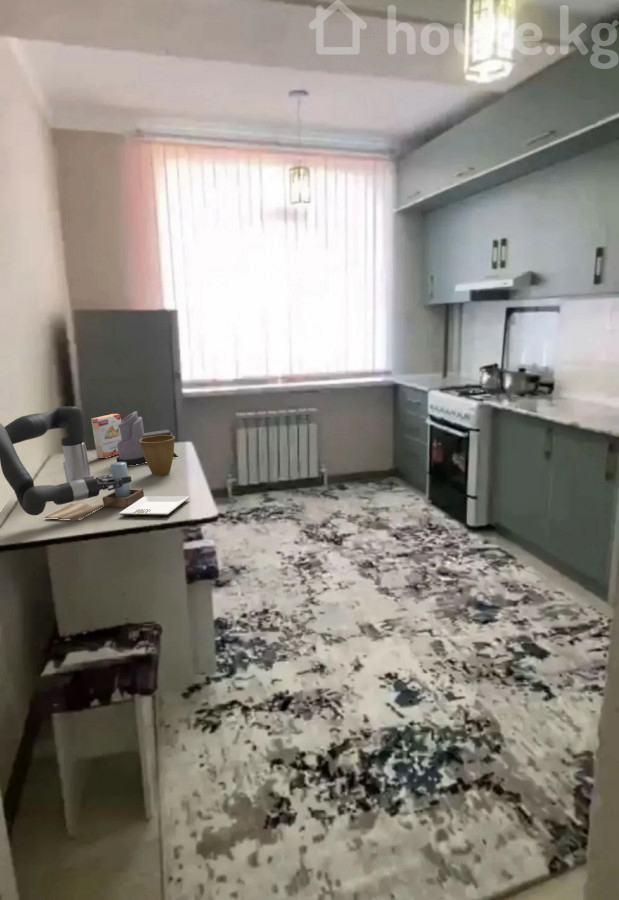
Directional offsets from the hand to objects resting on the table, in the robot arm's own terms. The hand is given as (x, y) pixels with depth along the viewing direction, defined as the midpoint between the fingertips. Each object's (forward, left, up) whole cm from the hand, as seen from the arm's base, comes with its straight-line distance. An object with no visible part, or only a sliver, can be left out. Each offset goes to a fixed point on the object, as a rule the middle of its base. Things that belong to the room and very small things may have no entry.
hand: (127, 477), depth 215 cm
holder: (-1, -2, -9) cm, 9 cm away
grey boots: (-29, +59, -9) cm, 66 cm away
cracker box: (-54, +67, -9) cm, 87 cm away
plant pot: (-7, +36, -9) cm, 38 cm away
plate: (+16, -8, -10) cm, 20 cm away
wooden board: (-13, -15, -9) cm, 22 cm away
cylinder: (-1, -2, -9) cm, 9 cm away
